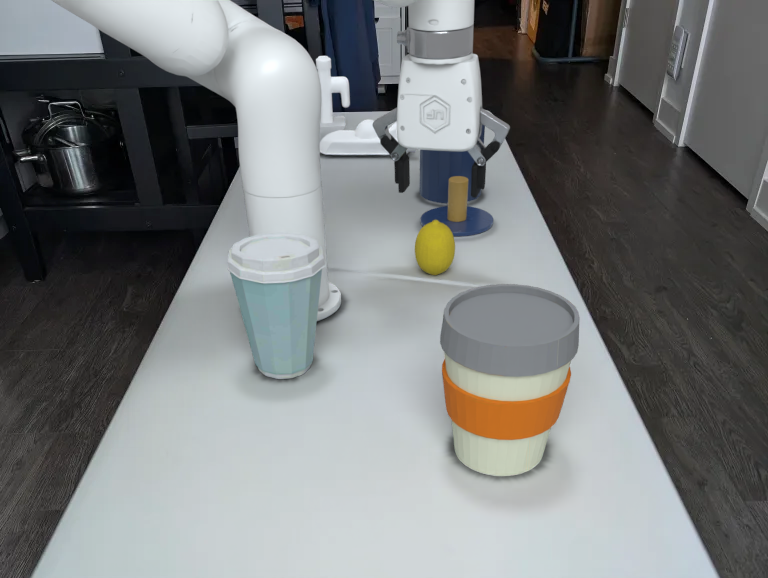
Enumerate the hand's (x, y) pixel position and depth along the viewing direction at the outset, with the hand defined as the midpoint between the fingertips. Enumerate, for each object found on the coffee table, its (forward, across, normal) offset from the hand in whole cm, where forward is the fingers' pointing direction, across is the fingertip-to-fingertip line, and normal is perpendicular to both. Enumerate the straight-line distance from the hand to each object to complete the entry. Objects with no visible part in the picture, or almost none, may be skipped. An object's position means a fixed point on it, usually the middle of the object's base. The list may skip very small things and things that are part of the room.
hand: (439, 191), depth 105 cm
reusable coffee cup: (+12, +15, -38) cm, 43 cm away
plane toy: (+12, -27, +52) cm, 59 cm away
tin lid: (+11, -2, +18) cm, 22 cm away
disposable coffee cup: (+11, -12, -28) cm, 33 cm away
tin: (+12, -6, +32) cm, 34 cm away
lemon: (+12, -1, 0) cm, 12 cm away
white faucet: (+12, -36, +56) cm, 68 cm away
